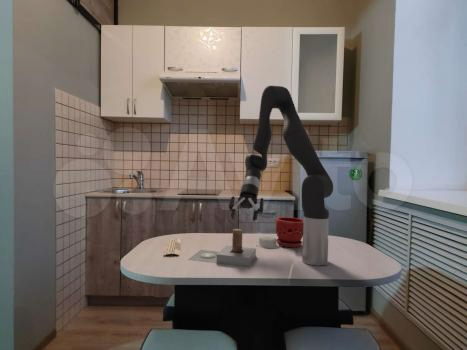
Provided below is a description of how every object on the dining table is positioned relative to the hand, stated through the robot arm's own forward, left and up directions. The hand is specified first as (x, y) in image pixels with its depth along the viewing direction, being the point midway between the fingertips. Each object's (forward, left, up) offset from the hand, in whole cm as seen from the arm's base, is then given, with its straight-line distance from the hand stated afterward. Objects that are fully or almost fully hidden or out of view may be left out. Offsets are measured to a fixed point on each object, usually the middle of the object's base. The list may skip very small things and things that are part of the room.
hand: (243, 219), depth 117 cm
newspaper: (+30, 0, -15) cm, 34 cm away
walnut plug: (0, +9, -13) cm, 16 cm away
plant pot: (-17, -22, -15) cm, 32 cm away
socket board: (+5, +9, -14) cm, 18 cm away
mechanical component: (-8, -15, -15) cm, 22 cm away
